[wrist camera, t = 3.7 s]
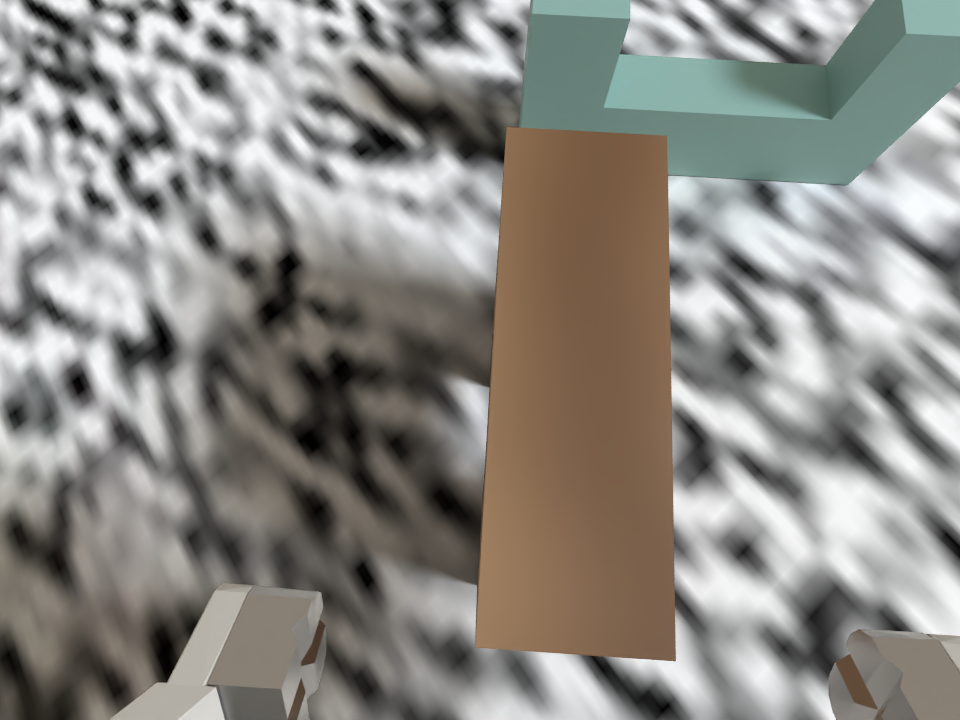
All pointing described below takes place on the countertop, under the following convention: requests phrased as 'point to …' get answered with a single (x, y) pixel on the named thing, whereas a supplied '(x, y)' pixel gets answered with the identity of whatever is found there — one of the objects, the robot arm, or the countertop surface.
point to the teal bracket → (743, 91)
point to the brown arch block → (580, 402)
